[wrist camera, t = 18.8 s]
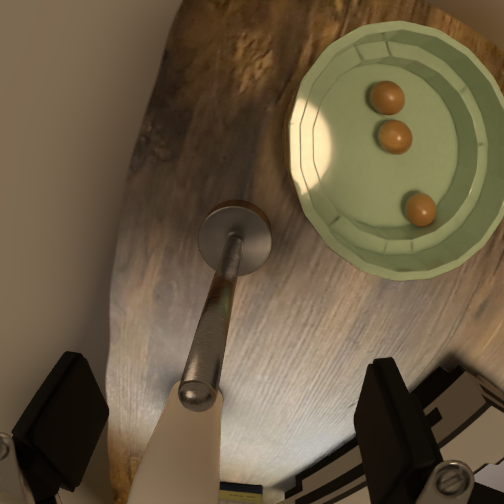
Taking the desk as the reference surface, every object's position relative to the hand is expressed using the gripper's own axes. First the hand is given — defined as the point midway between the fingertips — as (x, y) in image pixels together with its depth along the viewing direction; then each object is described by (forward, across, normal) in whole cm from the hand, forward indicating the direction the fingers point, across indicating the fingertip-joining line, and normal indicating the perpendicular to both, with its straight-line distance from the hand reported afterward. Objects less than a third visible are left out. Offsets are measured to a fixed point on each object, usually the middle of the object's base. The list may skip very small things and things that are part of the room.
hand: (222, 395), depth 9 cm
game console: (+15, -20, +31) cm, 40 cm away
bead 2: (+13, -10, -7) cm, 18 cm away
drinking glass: (+15, +6, +16) cm, 23 cm away
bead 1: (+13, -10, -10) cm, 19 cm away
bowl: (+15, -10, -7) cm, 19 cm away
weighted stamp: (+15, +1, 0) cm, 15 cm away
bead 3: (+13, -12, -2) cm, 18 cm away
